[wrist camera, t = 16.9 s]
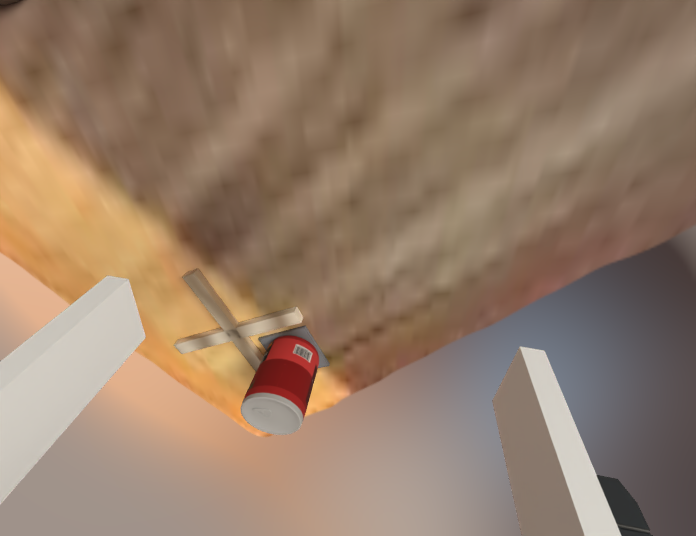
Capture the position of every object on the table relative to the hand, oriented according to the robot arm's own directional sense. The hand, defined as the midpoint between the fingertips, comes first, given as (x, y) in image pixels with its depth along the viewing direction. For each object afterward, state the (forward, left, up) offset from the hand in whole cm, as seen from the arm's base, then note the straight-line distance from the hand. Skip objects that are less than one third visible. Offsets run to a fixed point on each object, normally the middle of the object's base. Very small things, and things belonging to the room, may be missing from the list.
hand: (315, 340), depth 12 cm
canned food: (-8, -32, -28) cm, 44 cm away
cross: (-17, -30, -29) cm, 45 cm away
